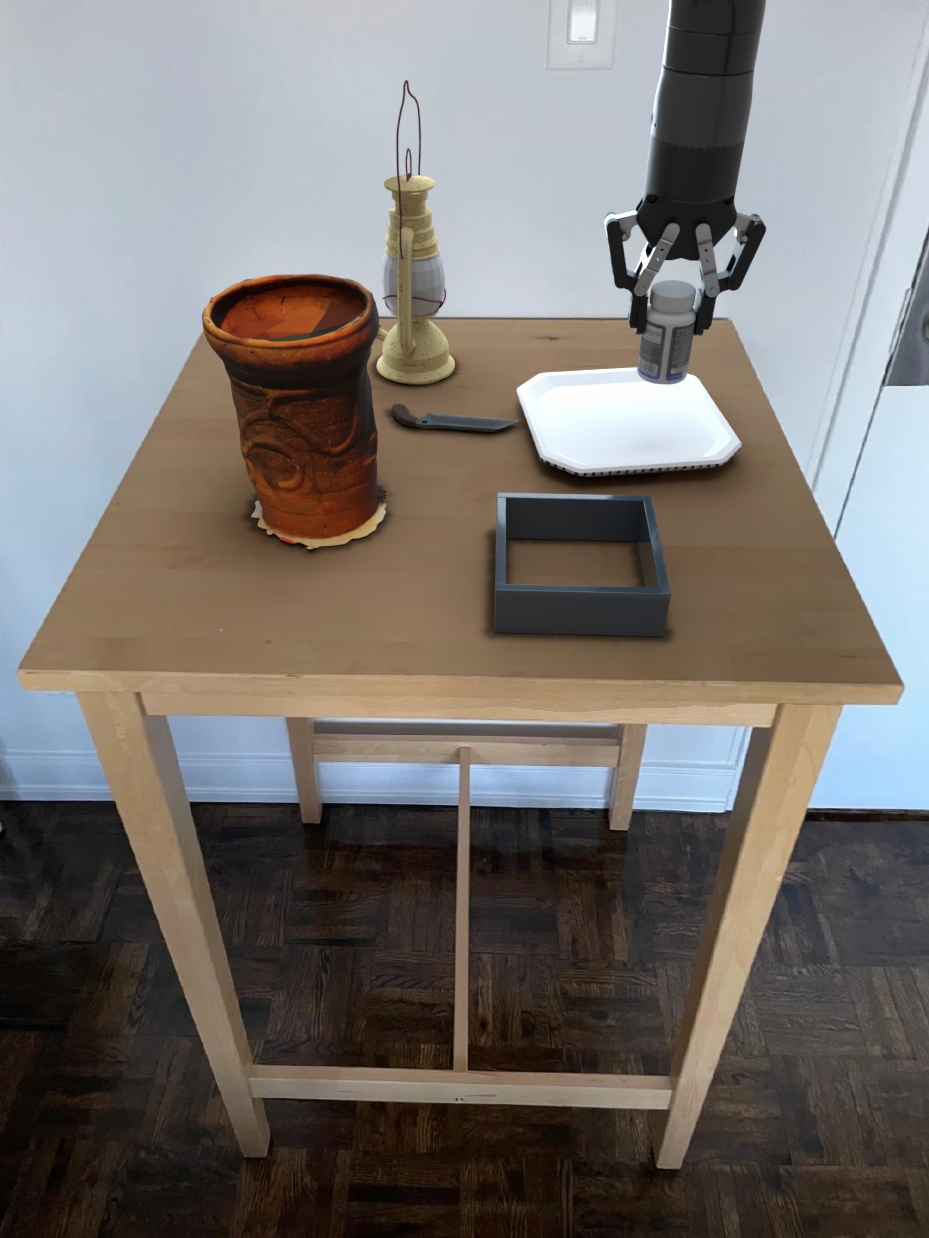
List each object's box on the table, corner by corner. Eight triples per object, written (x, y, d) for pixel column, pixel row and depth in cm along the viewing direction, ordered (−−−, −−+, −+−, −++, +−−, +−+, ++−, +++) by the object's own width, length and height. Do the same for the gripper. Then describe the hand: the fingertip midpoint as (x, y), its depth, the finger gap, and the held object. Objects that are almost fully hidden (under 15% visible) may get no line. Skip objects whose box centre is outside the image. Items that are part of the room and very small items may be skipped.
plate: (545, 492, 91) (546, 473, 90) (510, 391, 107) (511, 373, 105) (750, 478, 93) (754, 458, 92) (686, 381, 109) (690, 363, 107)
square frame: (644, 536, 86) (651, 495, 83) (663, 637, 76) (671, 594, 73) (495, 533, 86) (497, 492, 83) (494, 632, 76) (495, 589, 73)
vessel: (207, 530, 87) (161, 321, 73) (290, 455, 96) (263, 259, 83) (344, 570, 82) (321, 355, 69) (416, 487, 92) (409, 285, 79)
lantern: (384, 341, 116) (368, 64, 97) (462, 347, 115) (463, 68, 95) (360, 387, 107) (338, 92, 88) (445, 394, 106) (442, 96, 86)
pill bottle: (684, 364, 91) (698, 278, 86) (688, 387, 88) (703, 299, 82) (635, 362, 92) (646, 276, 86) (637, 385, 88) (648, 297, 83)
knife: (385, 426, 101) (385, 420, 100) (393, 408, 104) (393, 402, 103) (516, 436, 99) (516, 430, 99) (520, 418, 102) (520, 412, 101)
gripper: (613, 142, 73) (592, 348, 84) (798, 144, 73) (753, 351, 84) (605, 117, 79) (587, 314, 90) (777, 119, 78) (738, 316, 90)
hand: (667, 331), depth 87 cm, fingers closed on pill bottle, 4 cm apart
